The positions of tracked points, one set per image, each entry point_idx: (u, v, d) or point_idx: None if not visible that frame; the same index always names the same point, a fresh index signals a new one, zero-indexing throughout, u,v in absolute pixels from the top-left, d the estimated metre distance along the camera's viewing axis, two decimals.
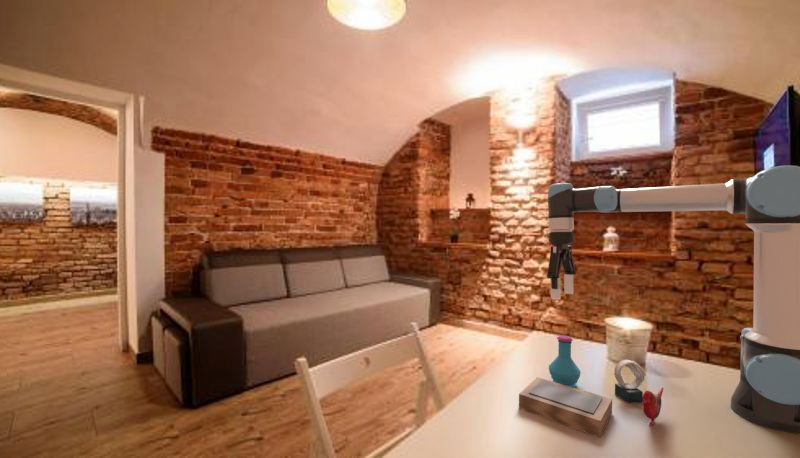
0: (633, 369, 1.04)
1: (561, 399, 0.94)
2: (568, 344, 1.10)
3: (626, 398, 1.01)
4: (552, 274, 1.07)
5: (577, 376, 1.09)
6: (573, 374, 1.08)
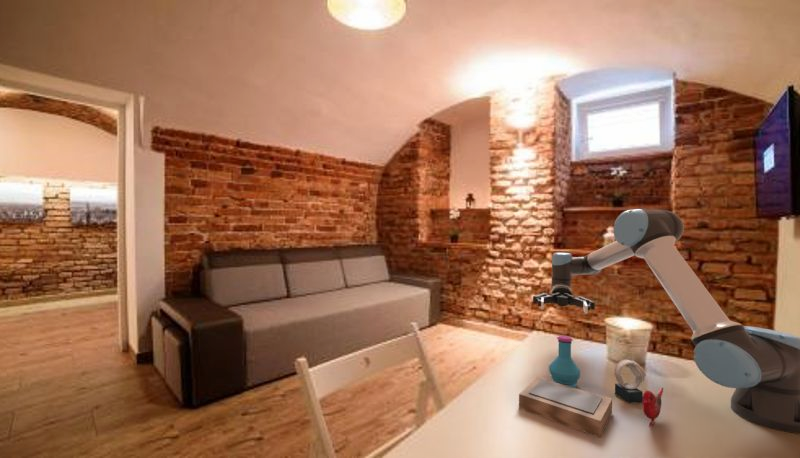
0: (633, 369, 1.04)
1: (561, 399, 0.94)
2: (568, 344, 1.10)
3: (626, 398, 1.01)
4: None
5: (577, 376, 1.09)
6: (573, 374, 1.08)
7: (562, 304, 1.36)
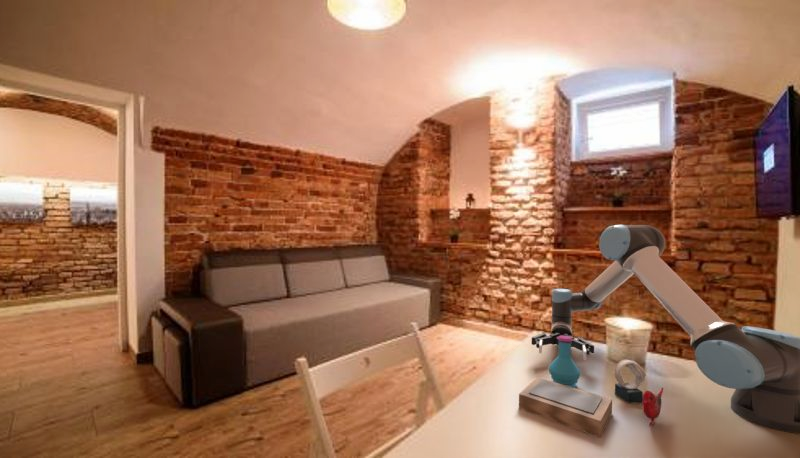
0: (633, 369, 1.04)
1: (561, 399, 0.94)
2: (568, 344, 1.10)
3: (626, 398, 1.01)
4: None
5: (577, 376, 1.09)
6: (573, 374, 1.08)
7: None
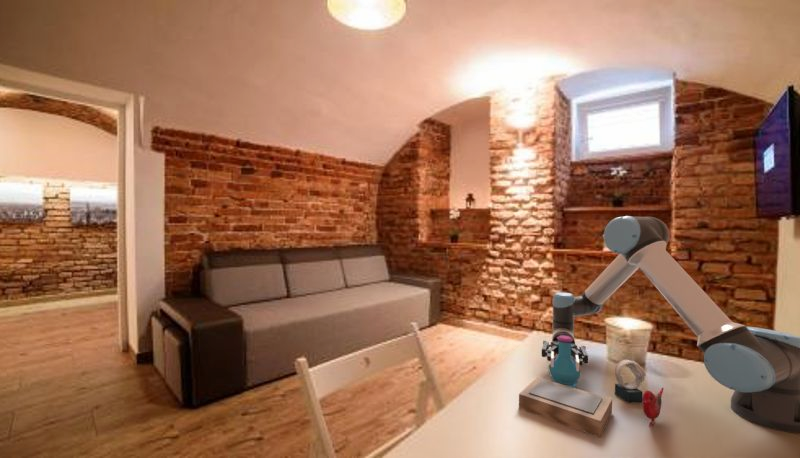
0: (633, 369, 1.04)
1: (561, 399, 0.94)
2: (568, 344, 1.10)
3: (626, 398, 1.01)
4: None
5: (577, 376, 1.09)
6: (573, 374, 1.08)
7: None
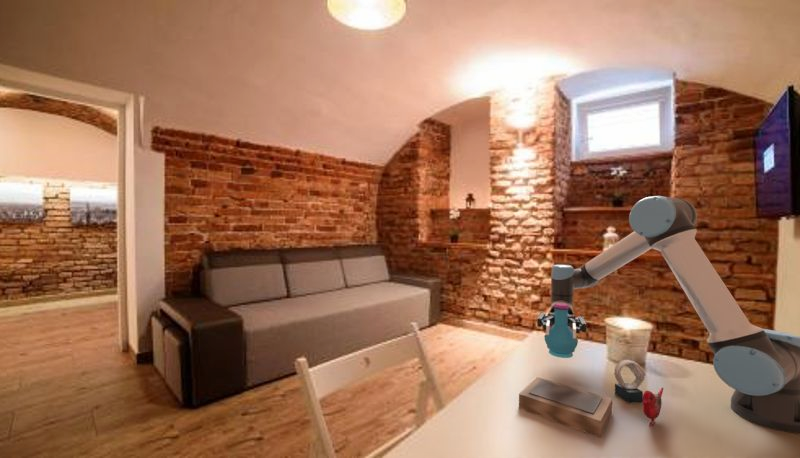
0: (633, 369, 1.04)
1: (561, 399, 0.94)
2: (565, 311, 1.05)
3: (626, 398, 1.01)
4: None
5: (574, 344, 1.03)
6: (570, 342, 1.02)
7: None
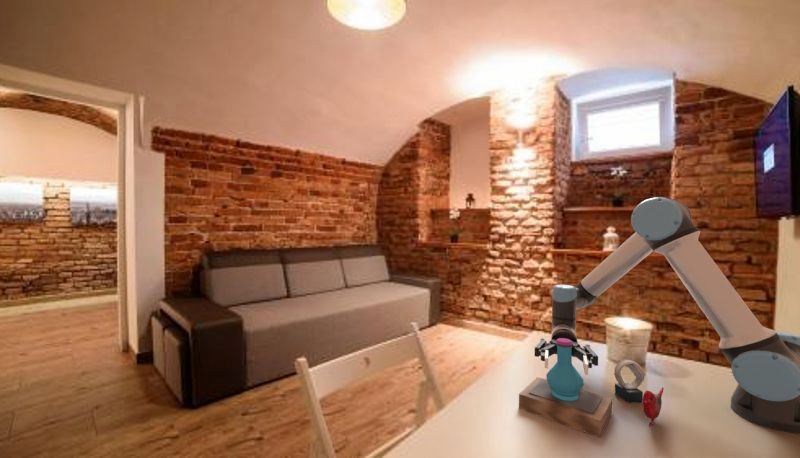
0: (633, 369, 1.04)
1: None
2: (568, 348, 0.94)
3: (626, 398, 1.01)
4: None
5: (580, 386, 0.92)
6: (575, 384, 0.92)
7: None
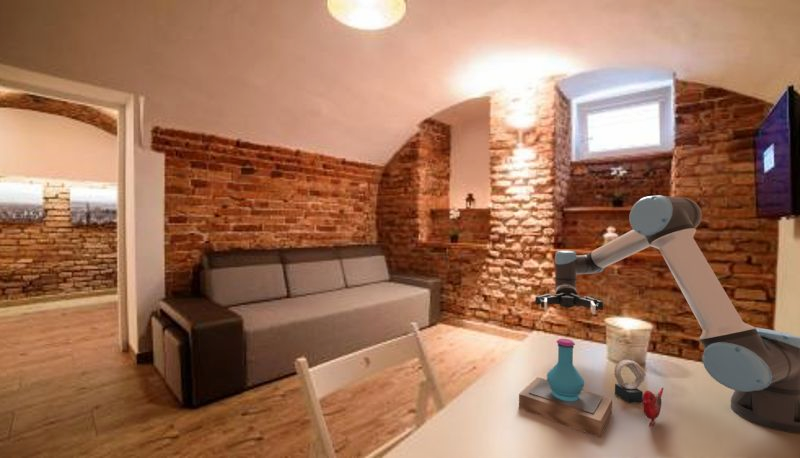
0: (633, 369, 1.04)
1: None
2: (569, 349, 0.94)
3: (626, 398, 1.01)
4: None
5: (580, 386, 0.92)
6: (576, 384, 0.92)
7: (567, 305, 1.25)
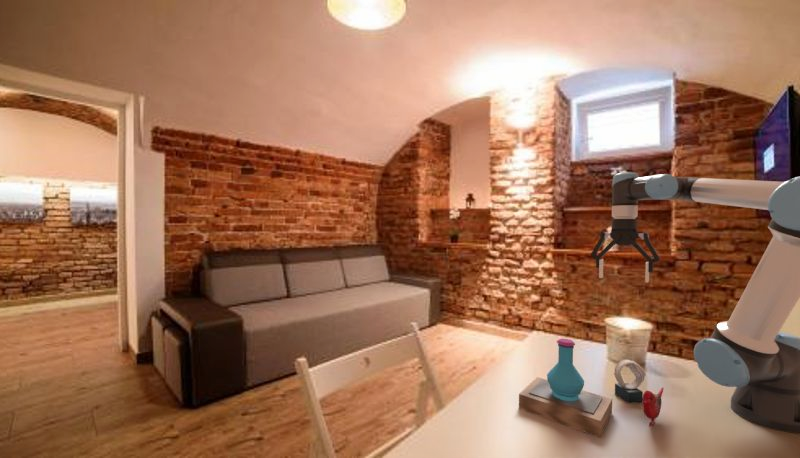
0: (633, 369, 1.04)
1: None
2: (570, 349, 0.94)
3: (626, 398, 1.01)
4: None
5: (580, 387, 0.92)
6: (576, 384, 0.92)
7: None
